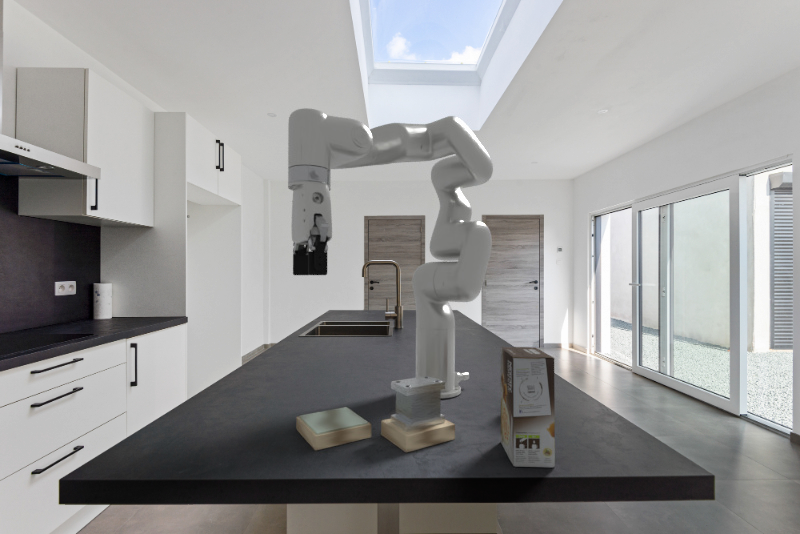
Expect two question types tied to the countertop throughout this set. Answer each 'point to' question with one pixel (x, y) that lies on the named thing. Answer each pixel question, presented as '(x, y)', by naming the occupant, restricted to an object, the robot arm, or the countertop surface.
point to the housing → (417, 403)
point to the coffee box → (527, 406)
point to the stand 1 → (332, 428)
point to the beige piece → (417, 435)
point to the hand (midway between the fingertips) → (309, 275)
